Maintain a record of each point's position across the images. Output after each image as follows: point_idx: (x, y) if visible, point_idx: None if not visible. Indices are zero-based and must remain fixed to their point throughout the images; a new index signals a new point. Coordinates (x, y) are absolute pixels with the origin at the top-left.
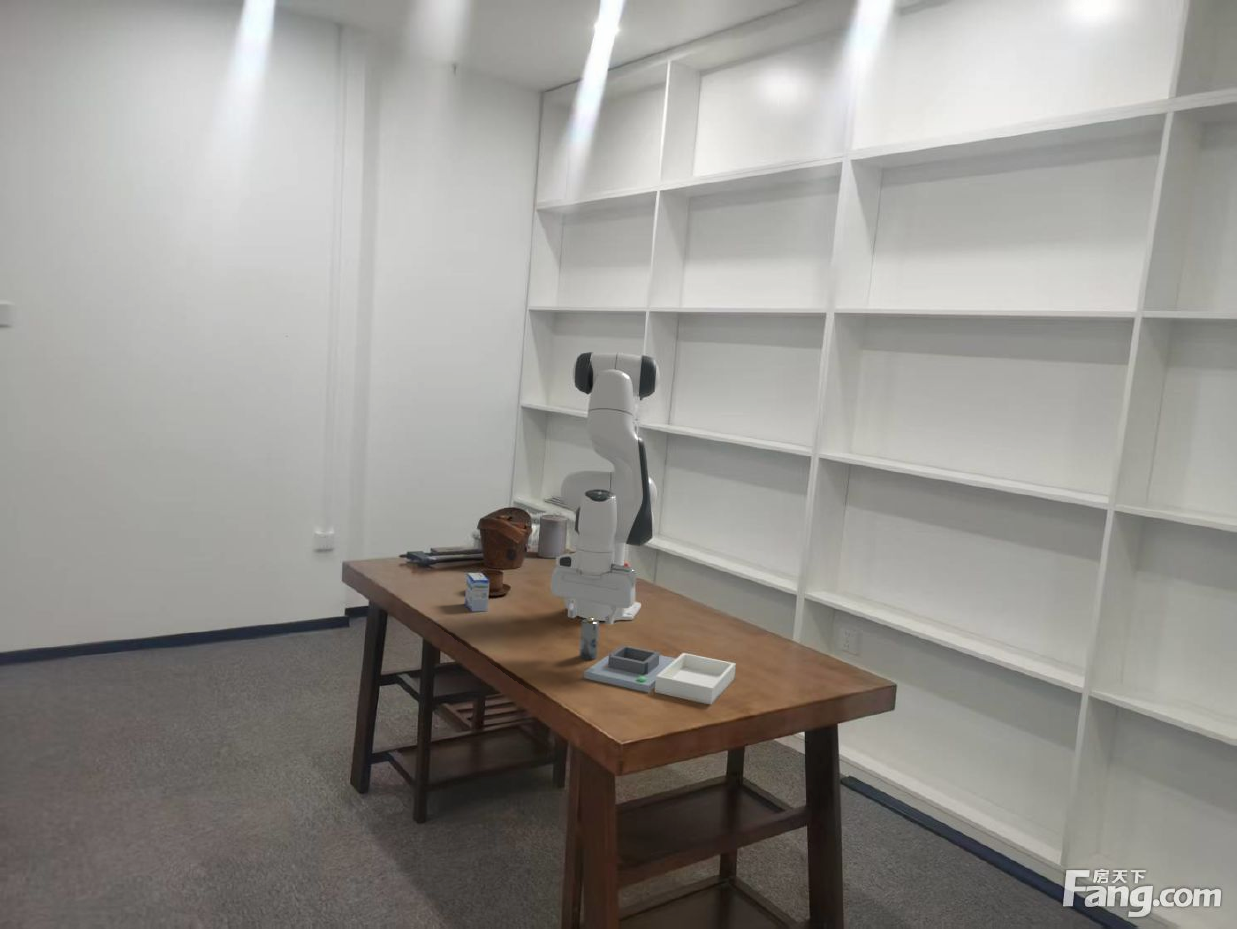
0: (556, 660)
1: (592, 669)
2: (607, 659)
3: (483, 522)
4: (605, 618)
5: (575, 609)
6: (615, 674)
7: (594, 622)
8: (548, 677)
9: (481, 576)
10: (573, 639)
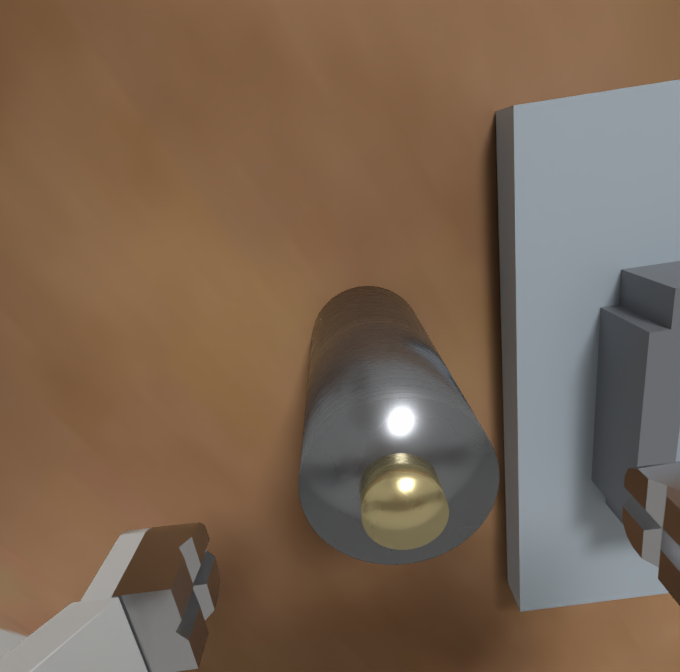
0: (265, 491)
1: (542, 571)
2: (548, 405)
3: None
4: (668, 590)
5: (168, 616)
6: None
7: (452, 487)
8: (375, 656)
9: None
10: (49, 76)
